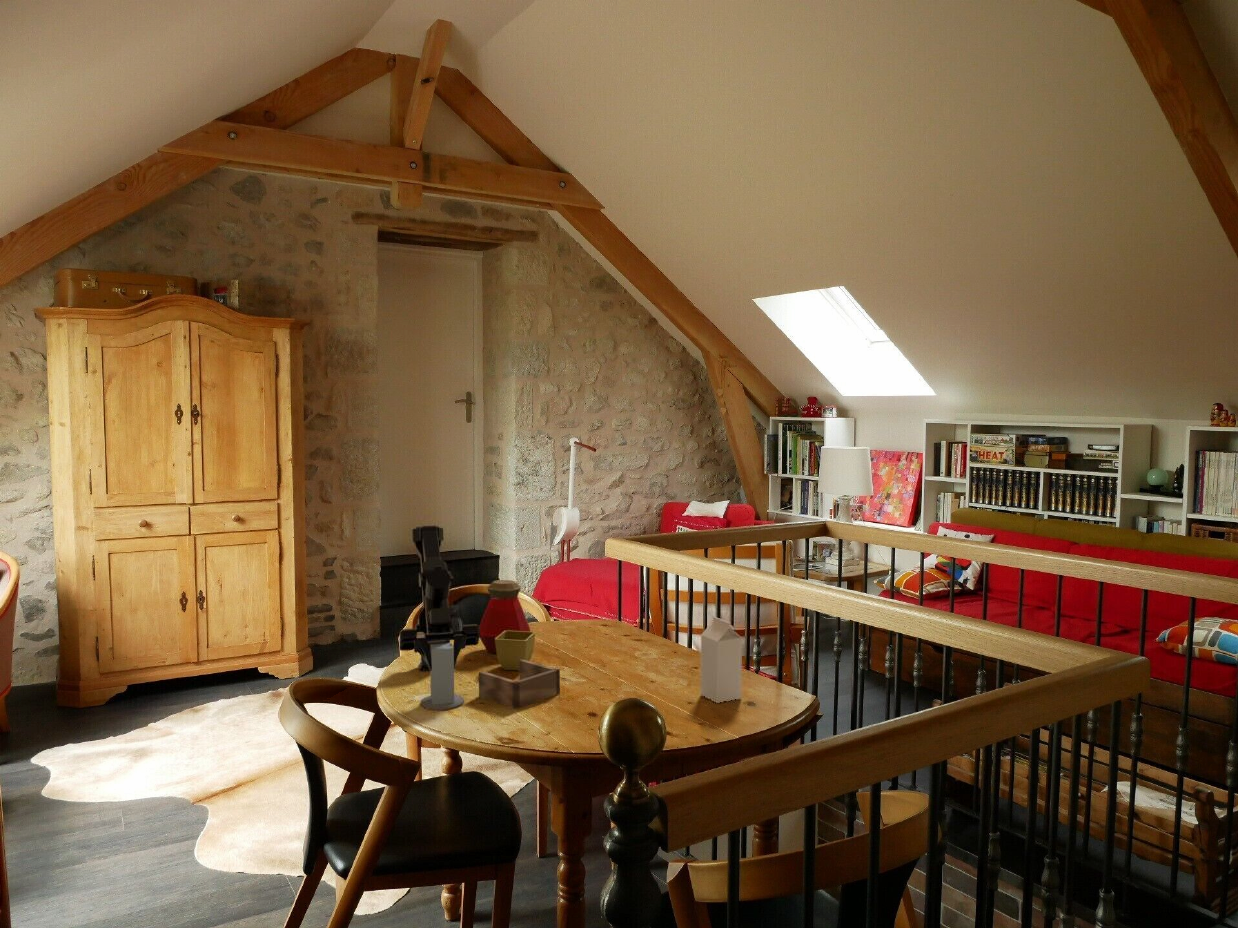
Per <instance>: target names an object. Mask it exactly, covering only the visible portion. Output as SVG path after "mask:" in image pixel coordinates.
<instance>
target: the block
mask: <svg viewBox="0 0 1238 928" xmlns="http://www.w3.org/2000/svg"><path fill="white" fill-rule="evenodd" d="M430 656H431V662H432V671H430V670H429V672H430V673H429V674H430V676H429V677H430V696H431V701H432V704H433V705H436V704H447V703H454V694H455V669H454V648H453V643H452V642H450V643H443V644H430Z"/></svg>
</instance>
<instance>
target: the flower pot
mask: <svg viewBox="0 0 1238 928" xmlns="http://www.w3.org/2000/svg"><path fill="white" fill-rule="evenodd" d="M535 637H536V631H530V632H526V631H504V632H503V633H501V634H500V635H499V636H498V637H496V638H495V645H496V652H497V655H496V657H497V660H498V663H499V664H500V667H502V669H503V670H505V671H519V660H522V659H523V660H527V661H530V660H531V659H532V656H533V652H534V646H535V639H536V638H535Z"/></svg>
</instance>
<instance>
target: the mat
mask: <svg viewBox="0 0 1238 928" xmlns="http://www.w3.org/2000/svg"><path fill="white" fill-rule="evenodd" d="M464 704H465V698H464V697H463V696H461V695H459V694H455V693H454V703H447V704H436V705H433V704H432V701H431V695H430V696H425V697H424V698H422V699H421V700H420V706H421V707H422V708H423V707H424V708H423V709H425V708H428V709H427V710H429V709H431V710H430V711H448V709H449V710H453V708H454V709H456V708H460V707H461V706H463V705H464Z"/></svg>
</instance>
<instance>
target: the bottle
mask: <svg viewBox="0 0 1238 928" xmlns="http://www.w3.org/2000/svg"><path fill="white" fill-rule="evenodd" d="M521 587H522V586H521V585H520V584H518V583H517V582H516V581H515V580H512V579H498V580H494V581H492V582H491V583H490V584H489V585H488V586H487V588H486V589H487V591H488V593H489V596H490V598H489V601H488V604H487V606H486V608H485V611H484V614H483V616H482V618H481V620H480V624H479V625H478V626H479V628H480V636H479V640H481V642H482V644H483V646H484V648H485V650H486V651H487V653H488V654H491V655H496V656H497V652H496V645H495V638H496V637H498V636H499V635H500V634H501V633H503V632H504V631H526V632H531V627H530V625H529V622H528V619H527V616H526V614H525V612H524V610H523V607H522V605H521V602H520V599H519V597H518V596H519V593H520V591H521Z"/></svg>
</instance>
